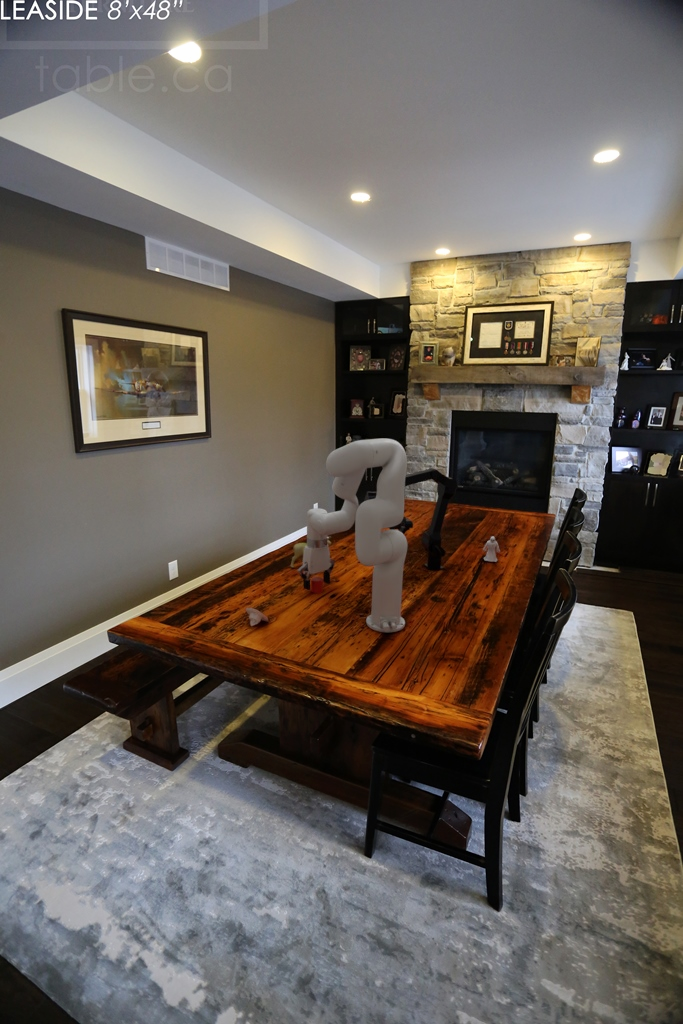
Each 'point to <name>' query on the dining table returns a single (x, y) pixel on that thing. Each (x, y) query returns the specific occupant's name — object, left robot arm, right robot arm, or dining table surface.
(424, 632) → the dining table surface
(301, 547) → the toy
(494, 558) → the figurine
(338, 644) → the dining table surface
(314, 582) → the can
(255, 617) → the seashell
